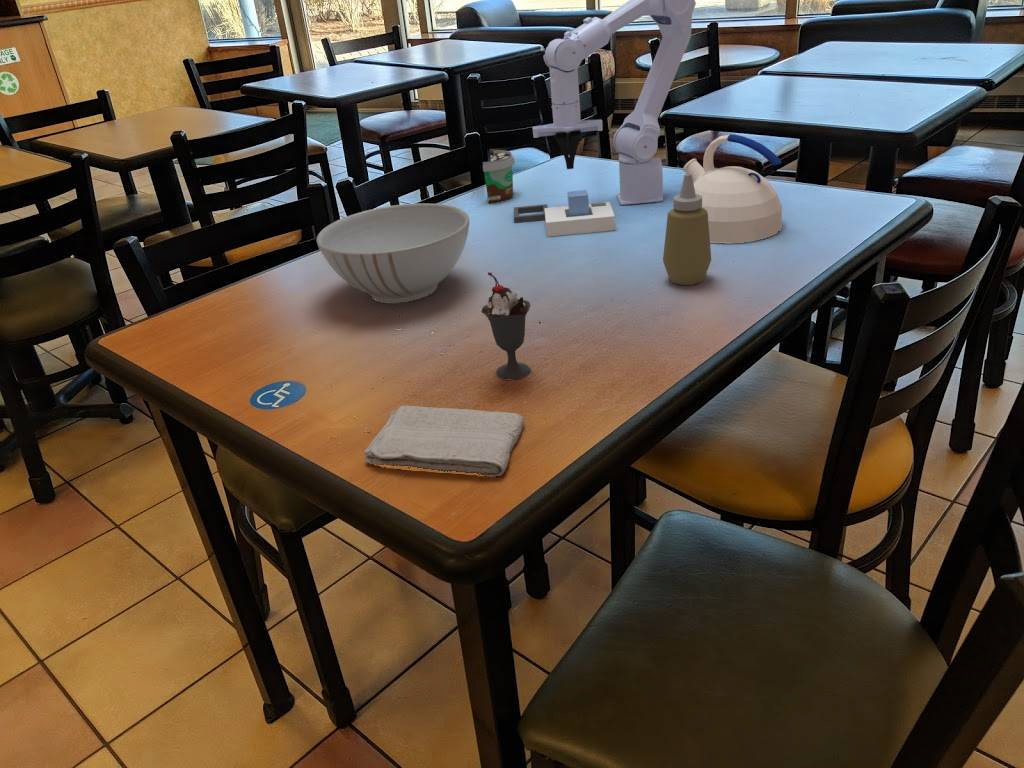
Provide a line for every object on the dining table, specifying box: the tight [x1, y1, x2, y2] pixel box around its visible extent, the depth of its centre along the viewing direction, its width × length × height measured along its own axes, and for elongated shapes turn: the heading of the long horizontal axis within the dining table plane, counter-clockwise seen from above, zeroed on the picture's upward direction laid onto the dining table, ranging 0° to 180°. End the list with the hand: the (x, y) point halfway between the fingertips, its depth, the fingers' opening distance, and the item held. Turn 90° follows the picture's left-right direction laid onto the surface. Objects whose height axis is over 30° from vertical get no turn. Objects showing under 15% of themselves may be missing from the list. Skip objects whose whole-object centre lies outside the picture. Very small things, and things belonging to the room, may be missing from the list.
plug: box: [566, 189, 590, 217], centre depth 163 cm, size 4×4×7 cm
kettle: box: [682, 133, 783, 244], centre depth 151 cm, size 20×21×18 cm
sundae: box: [481, 272, 532, 380], centre depth 108 cm, size 7×7×15 cm
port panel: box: [544, 201, 616, 237], centre depth 164 cm, size 14×10×3 cm
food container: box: [482, 149, 515, 204], centre depth 187 cm, size 12×6×10 cm, turn 168°
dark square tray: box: [513, 203, 549, 224], centre depth 174 cm, size 8×8×1 cm
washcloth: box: [363, 404, 525, 478], centre depth 96 cm, size 12×18×3 cm, turn 76°
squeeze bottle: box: [662, 173, 712, 286], centre depth 130 cm, size 8×8×18 cm
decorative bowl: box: [316, 202, 470, 304], centre depth 140 cm, size 27×27×12 cm
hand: (570, 167), depth 168 cm, fingers closed
